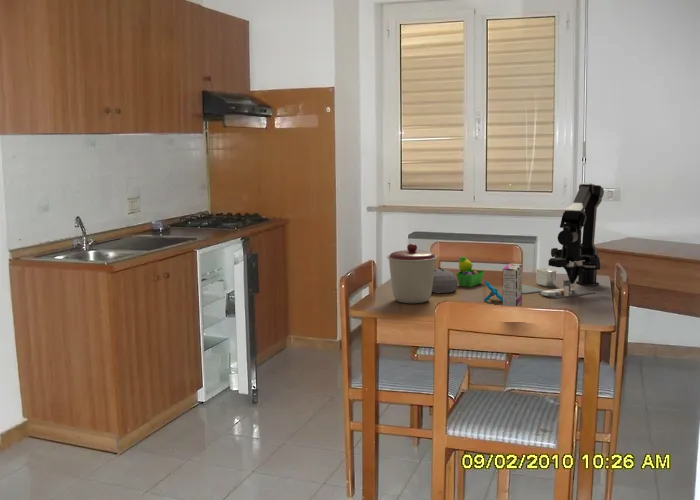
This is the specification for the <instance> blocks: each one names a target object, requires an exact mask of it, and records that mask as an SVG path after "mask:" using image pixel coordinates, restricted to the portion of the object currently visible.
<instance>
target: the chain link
mask: <svg viewBox="0 0 700 500" xmlns="http://www.w3.org/2000/svg"><path fill="white" fill-rule="evenodd" d="M535 274H536V277H535V279H536V280H535V281H536V282H535V283H536V285H538V286H543V287H548V288H555V287H556V286H557V270H553V269H548V268H545V267H544V268H542V267H541V268H540V267H539V268H536V273H535Z"/></svg>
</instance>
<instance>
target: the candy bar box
mask: <svg viewBox="0 0 700 500" xmlns="http://www.w3.org/2000/svg"><path fill="white" fill-rule="evenodd" d="M522 285H523V264H521V263H508V264H506V266H504V267H503V269H502V297H503V302H502V306H503V305H505V306H522V307H523V294H522Z"/></svg>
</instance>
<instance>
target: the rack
mask: <svg viewBox="0 0 700 500" xmlns="http://www.w3.org/2000/svg"><path fill="white" fill-rule="evenodd" d="M562 283H563V286H562V287H563V288H562V287H561V288H555V289H547V290H546V289H544V290H545V291H541V292H540V293H541V294H542V295H541V296H543V295H546V296H545V297H547V296H556V295H558V296H560V295H561V294H562V295H564V286H569V294H572V293H574V294H576V293H577V290H575V289H576V288H571V287H572V286H571V285H572V284H571V280H569V279H564V280H563V282H562Z"/></svg>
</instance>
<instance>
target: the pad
mask: <svg viewBox="0 0 700 500" xmlns="http://www.w3.org/2000/svg"><path fill="white" fill-rule="evenodd" d="M545 290H546V289H542V288H538V287H535V286H530V285H527V284H522V295H528V294H529V295H530V294H536V293H537V294H538V293H541V291H545Z"/></svg>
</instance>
